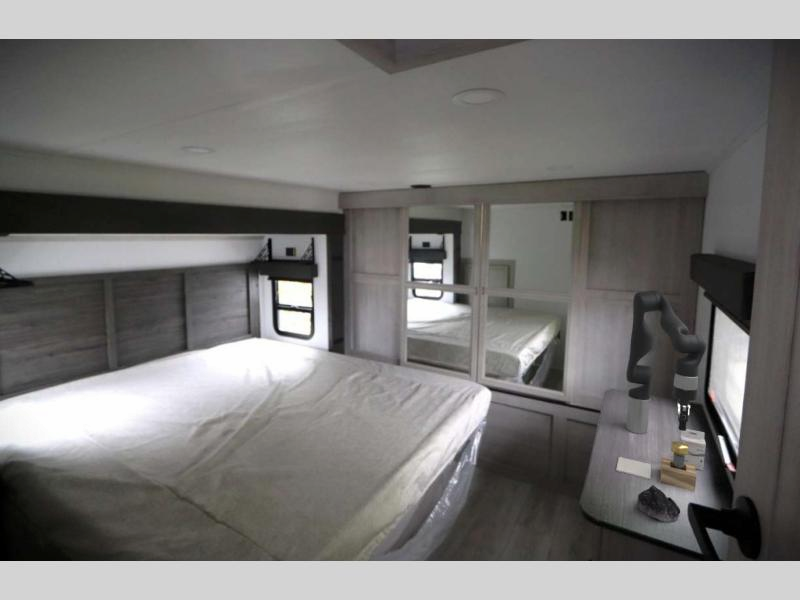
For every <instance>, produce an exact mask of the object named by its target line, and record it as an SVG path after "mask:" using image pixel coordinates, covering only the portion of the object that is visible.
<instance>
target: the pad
mask: <svg viewBox="0 0 800 600" xmlns="http://www.w3.org/2000/svg"><path fill="white" fill-rule="evenodd" d="M651 468H652V464H650V463H647V462H643V461H638V460H634V459H629V458H625V457H622V456H619V457H618V460H617V465H616V470H615V471H616V472H619V473H623V474H627V475H630V476H634V477H638V478H642V479H647V480H651V470H652V469H651Z"/></svg>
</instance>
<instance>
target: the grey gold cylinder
mask: <svg viewBox="0 0 800 600" xmlns="http://www.w3.org/2000/svg"><path fill="white" fill-rule="evenodd" d="M670 446H671V447H670V451H671V452H672V453H673V458H672V459H673V468H676V469H680V470H684V460H685V455H688V451H689V446H688V445H687V444H686V443H683V442H680V440H679V441H677V440H674V441H672V442H671V445H670Z"/></svg>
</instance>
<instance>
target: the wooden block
mask: <svg viewBox="0 0 800 600" xmlns="http://www.w3.org/2000/svg"><path fill="white" fill-rule="evenodd" d="M660 463H661V464H660V480H659V481H660V484H664V485H667V486H672V487H676V488H679V489H683V490H686V491H692V492H694V493H695V491H696V483H697V473H696V469H695V464H694V463H690V462H685V461H684V470H680V469H676V468H673V458H671V457H667V456H661V461H660Z"/></svg>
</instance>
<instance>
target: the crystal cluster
mask: <svg viewBox="0 0 800 600" xmlns="http://www.w3.org/2000/svg"><path fill="white" fill-rule="evenodd" d="M637 506H638V509H639V510H640V511H641V512H642V513H644V514H646V515H648V516H649V517H651V518H653V519H656V520H659V521H660V522H663V523H671V522H675V521H677V520H679V517H680V514H681V509H680V508H679V505H678V504H677V503H676V502H675V500H673V498H672V497H670V496H669V497H667V495H666V494H665V493H664V492H663V491H662V490H661V489H659V488H658V487H656V486H655V485H654V484H652V485H651V486H649V488H647V489H645V490H643V491H641V492H640V493H638V495H637Z"/></svg>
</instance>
